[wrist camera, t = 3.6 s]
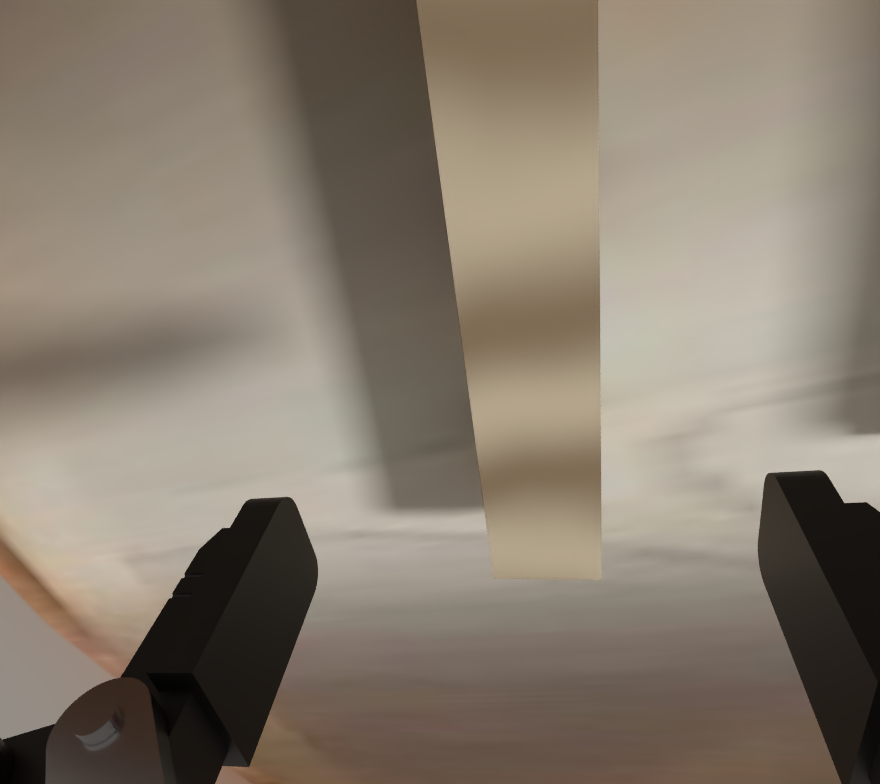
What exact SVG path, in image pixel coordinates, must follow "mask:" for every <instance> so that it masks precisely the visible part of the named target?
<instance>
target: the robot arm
mask: <svg viewBox="0 0 880 784" xmlns="http://www.w3.org/2000/svg"><path fill="white" fill-rule="evenodd" d="M758 558H759V565H760V571H761V575H762V578H763V582H764V585H765V587H766V590H767V592H768V595H769V598H770V600H771V603H772V605H773V608H774V610H775V613H776V616H777V618H778V621H779V623H780V626H781V629H782V631H783V634H784V636H785V639H786V641H787V644H788V647H789V649H790V652H791V654H792V657H793V659H794V662H795V665H796V667H797V670H798V672H799V675H800V677H801V680H802V683H803V685H804V688H805V690H806V693H807V695H808V698H809V701H810V703H811V706H812V708H813V711H814V714H815V716H816V719H817V721H818V724H819V726H820V729H821V732H822V734H823V737H824V739H825V742H826V744H827V747H828V750H829V752H830V755H831V757H832V760H833V762H834V765H835V768H836V770H837V773H838V775H839V778H840V780H841V783H842V784H880V512H879V511H877V510H876V509H875V508H873V507H872V506H871V505H869V504H868V503H867V502H864V503H844V502H843V500H842V499H841V497H840V495H839V494H838V492H837V490H836V489H835V487H834V486H833V484H832V482H831V481H830V479H829V477H828V476H827V475H826V474H825V473H824V472H823V471H820V470H817V471H798V472H779V473H768V474H767V476H766V478H765V482H764V491H763V500H762V510H761V519H760V528H759V538H758ZM317 579H318V565H317V559H316V555H315V553H314V550H313V547H312V545H311V542H310V540H309V537H308V534H307V532H306V529H305V527H304V524H303V521H302V519H301V516H300V514H299V511H298V508H297V506H296V504H295V502H294V501H293V500H292V499H291V498H290V497H279V498H260V499H249V500H248V501H246V502H245V503H244V505H243V506H242V508H241V510H240V512H239V513H238V515H237V517H236V518H235V520H234V522H233V524H232V525H231V527H230V528H222V529H221V530H220V531H219V532H218V533H217V534H216V535H214V536H213V537H212V538H211V539H210V540H209V541H208V542H207V543H206V544H205V545H204V546H203V547H201V548H200V549H199V551H198V552H197V554H196V556H195V557H194V559H193V561H192V562H191V564H190V565H189V567H188V569H187V570H186V572H185V577H184V578H181V580H180V582H179V583H178V585H177V587H176V588H175V590H174V591H173V593H172V594H173V597H172V598H169V600H168V601H167V603H166V604H165V606H164V608H163V609H162V611H161V613H160V614H159V616H158V617H157V619H156V621H155V622H154V624H153V626H152V627H151V629H150V630H149V632H148V634H147V635H146V637H145V639H144V640H143V642H142V643H141V645H140V647H139V648H138V650H137V652H136V653H135V655H134V656H133V658H132V660H131V661H130V663H129V665H128V666H127V668H126V669H125V671H124V673H123V674H122V676H121V677H120V678H116V679H112V680H109V681H106V682H104V683H101V684H99V685H97V686H95V687H94V688H92V689H90V690H89V691H87V692H86V693H84V694H83V695H81V696H80V697H79V698H78V699H77V700H75V701H74V702H73V703H72V704H71V705H70V706H69V707H68V708H67V709H66V710H65V712H64V713H63V714H62V715H61V717H60V718H59V719H58V721H57V722H56V724H53V725H50V726H46V727H43V728H40V729H37V730H33V731H30V732H27V733H23V734H20V735H17V736H13V737H10V738H7V739H3V740H2V739H1V738H0V784H215V782H216V780H217V777H218V775H219V772H220V770H221V768H222V766H238V767H249V766H250V763H251V760H252V758H253V755H254V752H255V750H256V747H257V744H258V742H259V739H260V736H261V734H262V731H263V728H264V726H265V723H266V720H267V718H268V715H269V712H270V710H271V707H272V704H273V702H274V699H275V696H276V694H277V691H278V688H279V686H280V683H281V680H282V678H283V675H284V672H285V670H286V667H287V665H288V662H289V659H290V657H291V654H292V651H293V649H294V646H295V643H296V641H297V638H298V635H299V633H300V630H301V627H302V625H303V622H304V619H305V617H306V614H307V611H308V609H309V606H310V603H311V601H312V598H313V595H314V593H315V590H316V586H317Z"/></svg>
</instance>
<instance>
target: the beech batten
mask: <svg viewBox="0 0 880 784" xmlns="http://www.w3.org/2000/svg"><path fill="white" fill-rule="evenodd" d="M416 3H417V10H418V18H419V25H420V33H421V40H422V48H423V55H424V62H425V70H426V77H427V85H428V92H429V100H430V107H431V115H432V122H433V130H434V137H435V145H436V152H437V159H438V167H439V174H440V182H441V189H442V197H443V204H444V212H445V219H446V227H447V234H448V242H449V249H450V256H451V264H452V271H453V279H454V286H455V294H456V301H457V309H458V316H459V324H460V331H461V338H462V346H463V353H464V361H465V368H466V376H467V383H468V391H469V398H470V406H471V413H472V421H473V428H474V435H475V443H476V450H477V458H478V465H479V473H480V480H481V488H482V495H483V503H484V510H485V518H486V525H487V532H488V540H489V547H490V555H491V562H492V570H493V577H494V579H559V580H602V552H601V400H600V249H599V98H598V0H416Z"/></svg>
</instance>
